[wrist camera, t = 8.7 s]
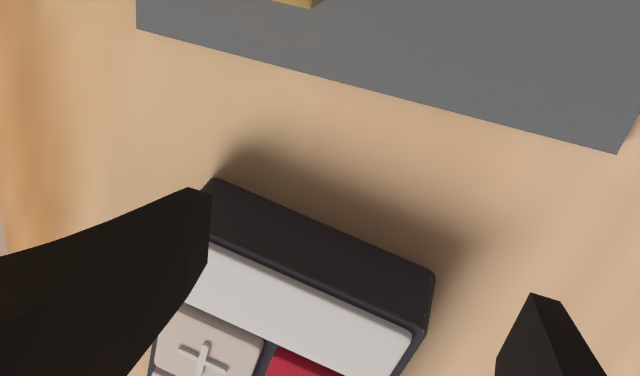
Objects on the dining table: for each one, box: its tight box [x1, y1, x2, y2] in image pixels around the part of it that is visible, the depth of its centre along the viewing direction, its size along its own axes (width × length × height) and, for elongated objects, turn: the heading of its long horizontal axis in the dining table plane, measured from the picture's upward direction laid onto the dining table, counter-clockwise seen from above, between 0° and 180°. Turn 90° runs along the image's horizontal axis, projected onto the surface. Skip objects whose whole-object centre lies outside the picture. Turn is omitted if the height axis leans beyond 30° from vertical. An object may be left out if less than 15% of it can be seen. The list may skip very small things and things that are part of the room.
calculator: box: [147, 178, 435, 376], centre depth 26 cm, size 11×4×15 cm
